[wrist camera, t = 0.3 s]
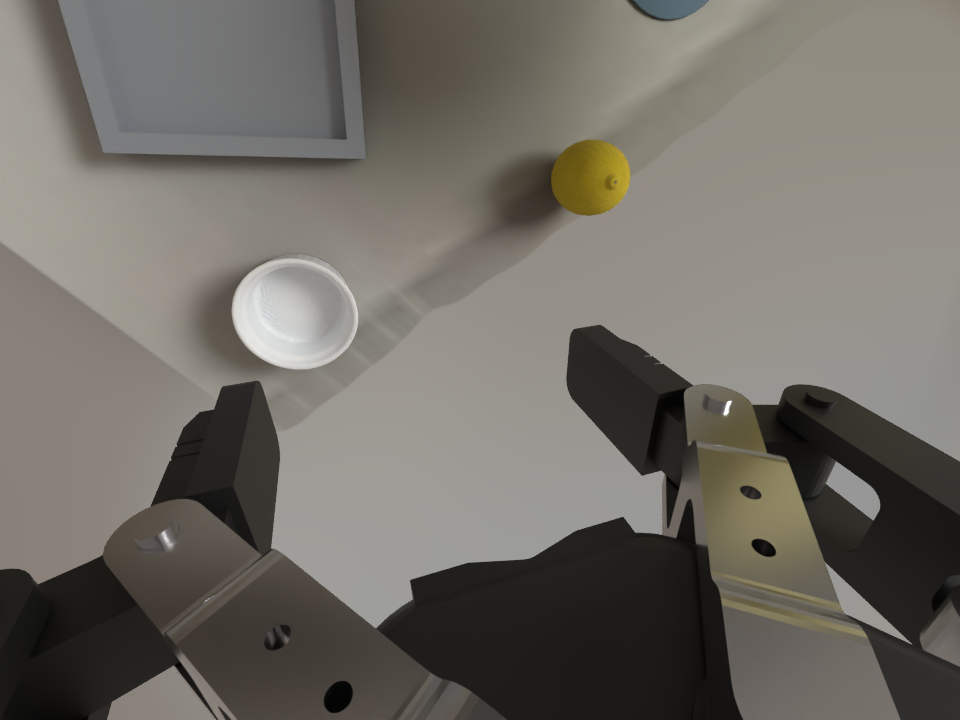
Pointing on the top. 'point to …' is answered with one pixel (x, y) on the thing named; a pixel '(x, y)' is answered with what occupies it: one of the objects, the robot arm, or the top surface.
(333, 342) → the ramekin
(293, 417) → the top surface
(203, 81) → the grey tray
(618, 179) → the lemon
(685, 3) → the cocktail glass
